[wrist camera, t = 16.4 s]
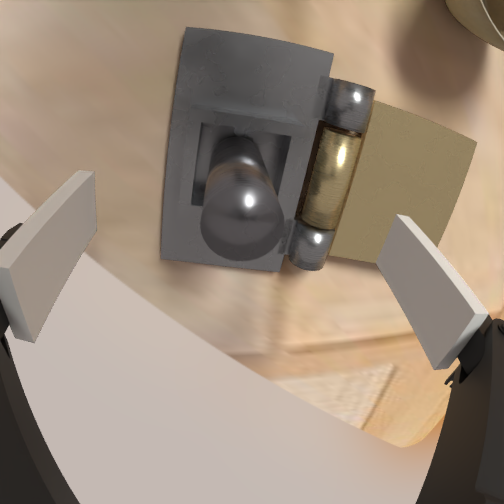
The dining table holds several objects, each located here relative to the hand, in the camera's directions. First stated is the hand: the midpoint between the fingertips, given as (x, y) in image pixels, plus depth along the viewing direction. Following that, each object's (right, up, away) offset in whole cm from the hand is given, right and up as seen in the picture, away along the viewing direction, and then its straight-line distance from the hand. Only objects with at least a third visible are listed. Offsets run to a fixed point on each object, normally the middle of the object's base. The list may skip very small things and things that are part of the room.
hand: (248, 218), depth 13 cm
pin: (-1, +5, +9) cm, 10 cm away
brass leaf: (+11, +4, +11) cm, 16 cm away
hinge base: (+1, +5, +10) cm, 12 cm away
